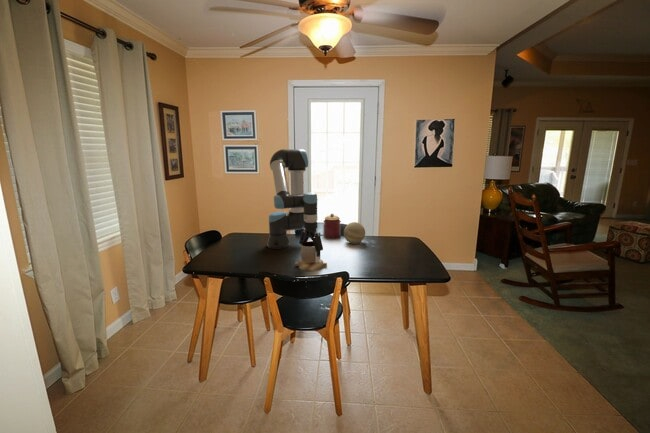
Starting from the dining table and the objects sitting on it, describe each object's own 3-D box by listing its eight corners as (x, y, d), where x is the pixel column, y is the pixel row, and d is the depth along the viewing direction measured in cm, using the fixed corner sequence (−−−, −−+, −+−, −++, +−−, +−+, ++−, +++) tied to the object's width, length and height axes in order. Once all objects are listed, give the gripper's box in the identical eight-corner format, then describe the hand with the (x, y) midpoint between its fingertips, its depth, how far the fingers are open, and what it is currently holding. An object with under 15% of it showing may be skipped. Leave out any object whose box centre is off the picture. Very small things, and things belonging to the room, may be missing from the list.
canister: (322, 238, 228) (322, 215, 224) (325, 233, 241) (325, 211, 237) (339, 239, 226) (339, 215, 222) (341, 234, 238) (341, 212, 235)
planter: (319, 256, 180) (319, 240, 177) (321, 263, 169) (321, 246, 167) (301, 256, 179) (300, 241, 176) (301, 263, 168) (301, 247, 166)
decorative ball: (350, 238, 227) (351, 219, 223) (368, 242, 218) (369, 221, 215) (339, 243, 215) (339, 223, 212) (358, 247, 206) (358, 226, 203)
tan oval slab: (293, 270, 168) (293, 266, 168) (297, 261, 182) (297, 257, 181) (326, 271, 167) (326, 267, 167) (327, 262, 181) (327, 258, 180)
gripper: (292, 218, 175) (293, 255, 180) (319, 226, 158) (319, 266, 163) (302, 216, 180) (303, 252, 185) (329, 224, 163) (329, 263, 168)
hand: (310, 258), depth 174 cm, fingers closed on planter, 11 cm apart
